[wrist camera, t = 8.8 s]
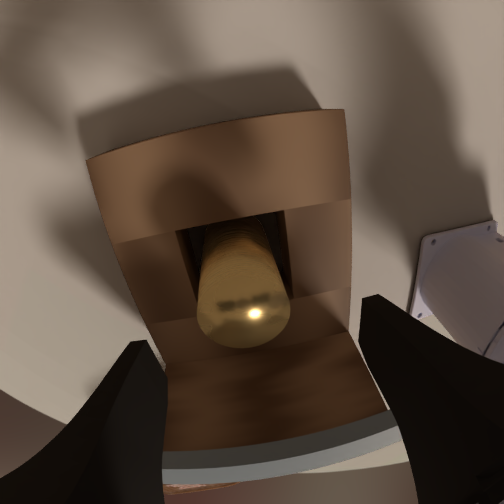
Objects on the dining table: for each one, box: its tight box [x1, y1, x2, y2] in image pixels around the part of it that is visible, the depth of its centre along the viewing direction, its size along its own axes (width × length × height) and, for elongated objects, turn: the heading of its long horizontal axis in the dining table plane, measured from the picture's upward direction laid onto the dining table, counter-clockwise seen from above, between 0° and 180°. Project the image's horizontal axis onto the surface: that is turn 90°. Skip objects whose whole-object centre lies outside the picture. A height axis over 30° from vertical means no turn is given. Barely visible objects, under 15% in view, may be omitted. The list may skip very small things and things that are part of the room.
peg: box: [197, 216, 290, 348], centre depth 14 cm, size 4×4×7 cm
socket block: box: [86, 109, 402, 484], centre depth 13 cm, size 13×15×11 cm
